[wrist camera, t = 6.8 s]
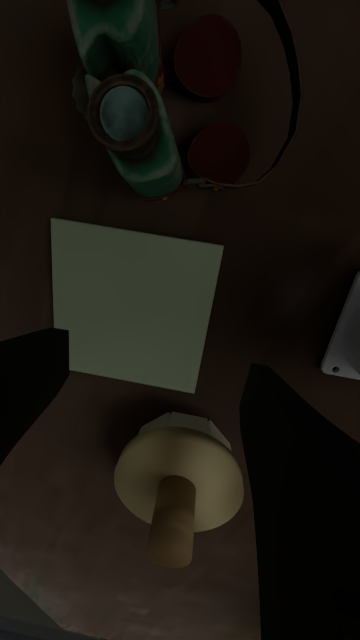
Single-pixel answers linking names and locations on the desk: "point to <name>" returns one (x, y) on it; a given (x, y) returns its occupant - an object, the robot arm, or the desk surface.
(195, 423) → the bowl
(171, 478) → the lid
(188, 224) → the desk surface
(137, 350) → the mat
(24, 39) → the desk surface
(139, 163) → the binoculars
